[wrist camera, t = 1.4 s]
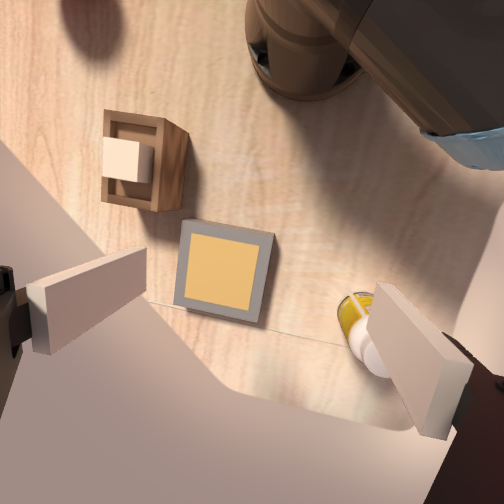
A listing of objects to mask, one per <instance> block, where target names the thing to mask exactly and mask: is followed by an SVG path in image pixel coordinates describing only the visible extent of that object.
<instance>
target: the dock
mask: <svg viewBox="0 0 504 504" xmlns="http://www.w3.org/2000/svg"><path fill="white" fill-rule="evenodd" d="M274 234H275V233H270V232H265V231H259V230H254V229H248V228H243V227H237V226H232V225H227V224H221V223H216V222H210V221H205V220H199V219H194V218H188V219H183V220H182V225H181V235H180V244H179V254H178V264H177V273H176V283H175V293H174V303H173V305H178V306H182V307H187V308H191V309H196V310H201V311H205V312H210V313H214V314H219V315H223V316H228V317H232V318H237V319H242V320H246V321H251V322H255V323H257V322H258V318H259V314H260V309H261V304H262V299H263V293H264V288H265V282H266V277H267V272H268V266H269V261H270V256H271V250H272V245H273V239H274Z"/></svg>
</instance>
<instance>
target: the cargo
mask: <svg viewBox="0 0 504 504" xmlns="http://www.w3.org/2000/svg"><path fill="white" fill-rule="evenodd" d="M153 153H154V147H152V146H149V145H146V144H143V143H140V142H135V141H129V140H123V139H116V138H110V137H103V158H102V176H104V177H110V178H116V179H122V180H127V181H133V182H141V183H151V180H152V167H153Z"/></svg>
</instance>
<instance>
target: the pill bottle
mask: <svg viewBox="0 0 504 504" xmlns="http://www.w3.org/2000/svg"><path fill="white" fill-rule="evenodd" d="M373 296H374V294H372V293H370V292H367V291H354V292H351V293H349V294H347V295H346V296H344V297H343V298H342V299H341V301H340V302H339V305H338V308H337V316H338V320H339V322H340V325H341V327H342V330H343V332H344V334H345V337H346V339H347V342H348V344H349V347H350V349H351V351H352V352H353V354H354V355H355V357H356V358H357V359H359V360H360V361H361V362H363V363H364V364H365V365H366V367H367V368H368V370H369V371H370V372H371V373H373V374H374V375H376V376H379V377H382V378H391V377H390V375H389V373H388V371H387V369H386V367H385V365H384V363H383V361H382V359H381V357H380V355H379V353H378V351H377V349H376V347H375V345H374V343H373V341H372V340H371V338H370V336H369V334H368V332H367V330H366V326H367V321H368V317H369V313H370V309H371V305H372V300H373Z"/></svg>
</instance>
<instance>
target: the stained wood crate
mask: <svg viewBox="0 0 504 504" xmlns="http://www.w3.org/2000/svg"><path fill="white" fill-rule="evenodd" d="M188 136H189V133H188V132H186V131H185V130H183V129H181V128H180V127H178V126H176V125H175V124H173V123H172V122H170V121H168V120H167V119H165V118H160V117H153V116H146V115H139V114H133V113H126V112H119V111H112V110H105V109H104V122H103V137H110V138H116V139H123V140H129V141H135V142H140V143H143V144H146V145H149V146H152V147H154V153H153V167H152V180H151V183H141V182H133V181H127V180H122V179H116V178H110V177H104V176H102V186H101V202H106V203H112V204H117V205H123V206H128V207H134V208H139V209H144V210H150V211H155V212H160V211H168V210H176V209H181V205H182V195H183V186H184V176H185V166H186V156H187V146H188ZM102 158H103V154H102Z"/></svg>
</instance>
